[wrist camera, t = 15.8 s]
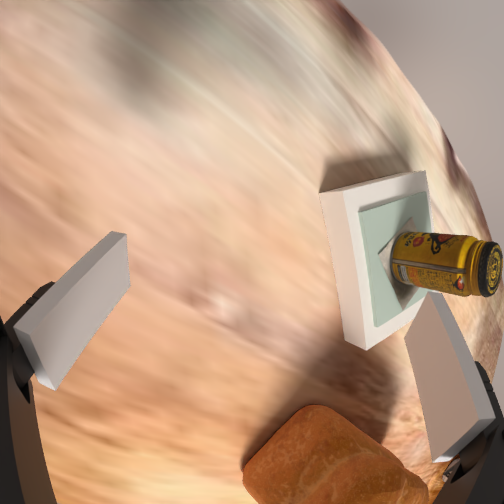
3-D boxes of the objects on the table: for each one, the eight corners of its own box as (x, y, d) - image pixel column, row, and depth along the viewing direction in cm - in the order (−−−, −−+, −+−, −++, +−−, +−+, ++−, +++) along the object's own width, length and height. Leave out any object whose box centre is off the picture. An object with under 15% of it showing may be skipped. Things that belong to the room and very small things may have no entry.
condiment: (410, 216, 34) (501, 219, 23) (430, 271, 37) (510, 285, 26) (376, 254, 32) (475, 269, 21) (400, 310, 35) (485, 336, 24)
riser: (318, 193, 34) (346, 190, 30) (402, 172, 39) (428, 170, 35) (344, 340, 38) (369, 352, 33) (417, 295, 43) (442, 301, 39)
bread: (324, 509, 42) (383, 564, 26) (224, 475, 33) (291, 574, 17) (383, 447, 46) (453, 492, 30) (309, 388, 36) (413, 461, 21)
